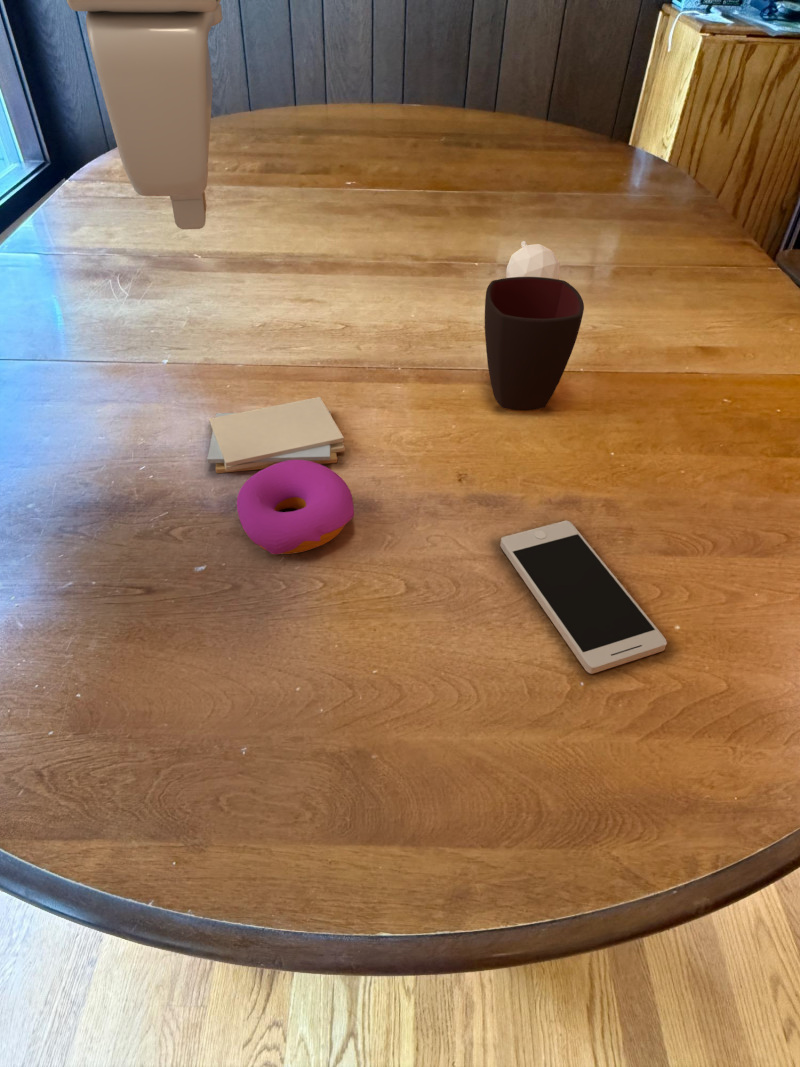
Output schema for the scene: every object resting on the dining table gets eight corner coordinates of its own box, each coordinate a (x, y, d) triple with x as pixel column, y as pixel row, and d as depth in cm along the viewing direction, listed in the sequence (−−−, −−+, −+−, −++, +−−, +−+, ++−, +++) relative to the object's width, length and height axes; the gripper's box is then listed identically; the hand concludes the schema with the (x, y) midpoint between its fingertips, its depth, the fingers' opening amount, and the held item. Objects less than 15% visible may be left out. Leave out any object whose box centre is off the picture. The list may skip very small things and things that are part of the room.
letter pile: (209, 480, 76) (206, 464, 74) (210, 420, 83) (207, 405, 82) (347, 468, 77) (346, 452, 76) (336, 410, 85) (335, 395, 83)
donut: (231, 500, 73) (225, 462, 70) (334, 479, 76) (333, 441, 73) (253, 574, 66) (247, 535, 63) (367, 548, 69) (366, 510, 66)
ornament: (509, 310, 103) (490, 250, 101) (523, 307, 109) (506, 251, 108) (559, 291, 99) (541, 229, 98) (571, 289, 106) (554, 231, 104)
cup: (481, 422, 84) (492, 320, 76) (468, 356, 94) (476, 260, 86) (572, 421, 84) (593, 320, 76) (549, 356, 94) (565, 260, 86)
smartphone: (567, 525, 72) (569, 518, 71) (666, 650, 61) (669, 642, 60) (498, 544, 70) (499, 536, 69) (588, 675, 59) (590, 668, 58)
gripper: (108, -80, 46) (152, 167, 55) (50, -32, 31) (123, 294, 40) (216, -78, 47) (241, 165, 56) (210, -30, 32) (246, 289, 41)
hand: (192, 220), depth 48 cm, fingers closed
